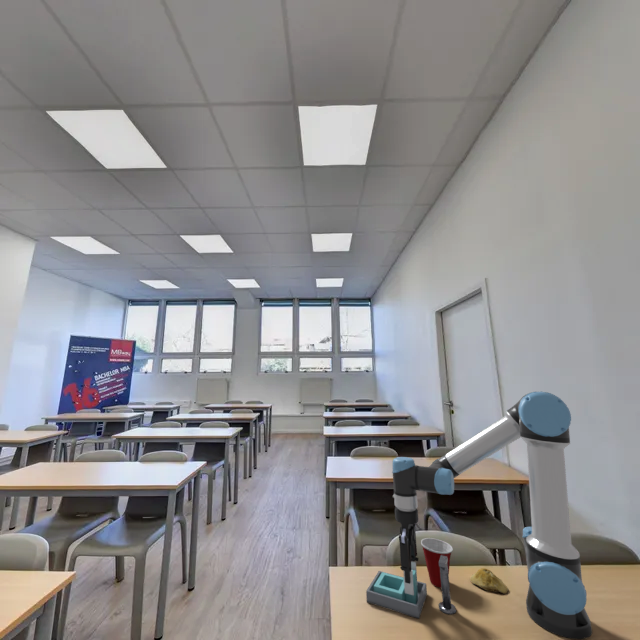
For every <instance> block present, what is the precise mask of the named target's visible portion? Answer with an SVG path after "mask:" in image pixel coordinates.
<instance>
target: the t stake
mask: <svg viewBox="0 0 640 640" xmlns="http://www.w3.org/2000/svg"><path fill="white" fill-rule="evenodd" d="M447 562H448V558H447V556H443V555H441V556H440V559H439V567H440V576H441V588H440V589H441V597H442V601H440V602H439V603H438V610H439V611H441V612H442V614H446V615H449V616H451V615H455V614H456V613H457V607H456V606H455V604H453V603H452V600H451V599H452V598H451V588H450V578H449V575H450V574H449V575H448V564H447Z"/></svg>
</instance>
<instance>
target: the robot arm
mask: <svg viewBox="0 0 640 640" xmlns="http://www.w3.org/2000/svg"><path fill="white" fill-rule="evenodd" d="M571 415H572V414H571V410H570V408H569V407H568V406H567V404H566V402H564V401H563V400H562V399H561V398H560V397H559V396H557V395H555V394H553V393H551V392H547V391H533V392H529V393H527V394H525V395H523V396H522V397H521V398H520V399H519V400H518V401H517V402H516V403H515V404H514V405H513V406H511V407H510V408H509V409H507V410H506V411H505V415H504V416H503V417H501V418H499V419H498V420H497V421H494V422H493V423H492V424H490V425H489V426H487V427H486V428H484V429H483V430H481V431H480V432H478V433H477V434H475V435H473V436H472V437H470V438H469V439H467V440H465V441H464V442H462V443H461V444H460V445H457V446H456V447H454V448H453V449H452V450H450V451H448V452H447V453H445V454H444V455H443V456H441V457H439V458H437V459H435V460H433V462H432V463H431V464H430V465H429V466H424V465H423V466H422V465H416V463H415V460H414V458H412V457H407V456H398V457H394V458H393V460H392V472H391V473H392V481H393V495H392V498H393V499H394V506H395V507H394V517H395V521H396V522H398V523H400V525H401V527H400V528H399V533H400V534H399V535H398V542H399V553H400V554H399V555H400V556H399V557H400V570H401V571H403V577H404V589H405V593H407V594H410V595H413V596H414V586H413V571H412V570H416V577H417V578H418V573H417V562H419V557H418V547H417V536H416V524H417V523H418V522H419V510H418V506H419V505H418V504H419V503H418V494H417V491H421V492H426V493H432V494H439V495H442V496H443V495H449V496H451V495H453V494H454V493H455V478H457V477H459V476H460V475H462V474H463V473H465V472H466V471H468V470H469V469H471V468H473V467H474V466H476V465H477V464H478V465H479V463H481V462H482V461H484V460H486V459H487V458H490V457H491V456H492V455H494V454H495V453H497V452H499V451H500V450H502V449H504V448H505V447H507V446H508V445H511V444H512V443H514V442H515V441H517V440H519V439H520V438H521V440H522V441H524V442H525V443H526V452H527V468H528V485H529V499H530V500H529V504H530V519H531V522H530V523H531V526H526V527H524V528H523V529H522V538H523V544H524V551H525V559H526V566H527V567H526V568H527V581H528V583H529V585H528V588H527V593H526V599H525V605H526V611H527V614H528V616H529V618H531V620H532V621H533V622H535V623H536V625H538V626H540V627H542V629H544V630H546V631H548V632H551V633H552V634H554V635H557V636H561V637H563V638H568V639H573V640H584V639H588V638H590V637H591V635H592V634H593V629H592V628H593V627H592V623H591V620H590V617H589V615H588V613H587V611H586V608H585V607H586V605H587V600H588V599H587V590H586V588H585V585H584V583H583V577H582V576H583V575H582V566H581V557H580V556H581V554H580V552H579V551H578V549H577V548H576V547H575V546H574V545H573V544H572V536H571V535H572V533H571V523H570V508H569V496H568V489H567V488H568V487H567V486H568V485H567V474H566V473H567V472H566V459H565V448H567V447H568V446H569V445H571V436H570V435H571V434H570V426H571V421H572V416H571ZM417 585H418V584H417Z"/></svg>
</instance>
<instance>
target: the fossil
mask: <svg viewBox="0 0 640 640" xmlns="http://www.w3.org/2000/svg"><path fill="white" fill-rule="evenodd" d="M469 580H470V582H471V584H473V585H476V586H477V587H480V588H481V589H483V590H484V591H488V592H489V591H490V592H495V593H496V592H497V593H501V594H502V595H503V594H504V595H506V594H507V593H508V590H509V589H508V586H506V584H505V583H504V582H503V580H502V579H501V578H500V577H499V576H497V575H496V574H495V573H494V572H493V571H491V570H490V569H488V568H484V567H481V568H480V569H478V570H477V571H476V572H475V573H473V574H472V575H471V576H470V577H469Z"/></svg>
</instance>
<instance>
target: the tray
mask: <svg viewBox="0 0 640 640" xmlns="http://www.w3.org/2000/svg"><path fill="white" fill-rule="evenodd" d="M382 572H384V573H386V572H385V571H383V570H382V571H381V570H378V572H377V573H376V575H375V576H374V578H373V580H372V581H371V583H370V585H369V586H368V587H367V589H366V590H365V591H366V592H365V593H366V603H369V604H372V605H374V606H377V607H381V608H384V609H388V610H390V611H393V612H397V613H399V614H403V615H405V616H409V617H412V618H414V619H418V620H420V617H421V614H422V611H423V608H424V605H425V601H426V599H427V594H428V591H427V583H426V582H422V581H419V580H417V584H418V585H417V591H418V601H417V604H413V603H409V602H406V601H403V600H399V599H396V598H393V597H389V596H386V595H383V594H380V593H376V592H374V585H375V583H376V581H377V580H378V578H379V576H380V575H381V573H382ZM387 573H388V572H387ZM388 574H391V575H395V576H399V575H396V574H392V573H388ZM399 577H401V576H399ZM402 577H403V578H404V576H402Z"/></svg>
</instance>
